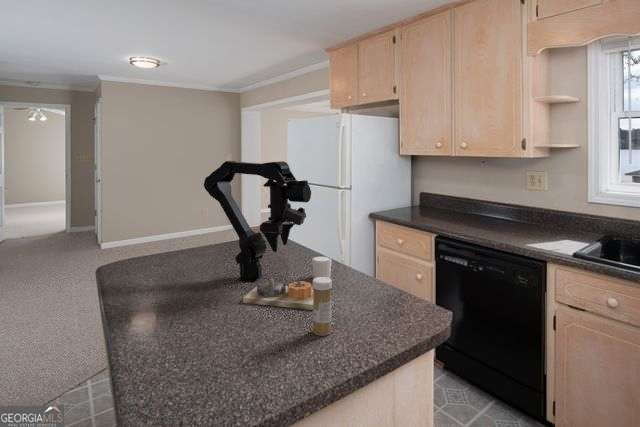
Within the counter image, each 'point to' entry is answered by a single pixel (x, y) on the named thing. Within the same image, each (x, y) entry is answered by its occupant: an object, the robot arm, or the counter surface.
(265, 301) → the gear board
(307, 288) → the orange gear
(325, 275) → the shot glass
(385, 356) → the counter surface
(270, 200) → the robot arm
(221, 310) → the counter surface
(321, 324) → the sprinkles bottle
